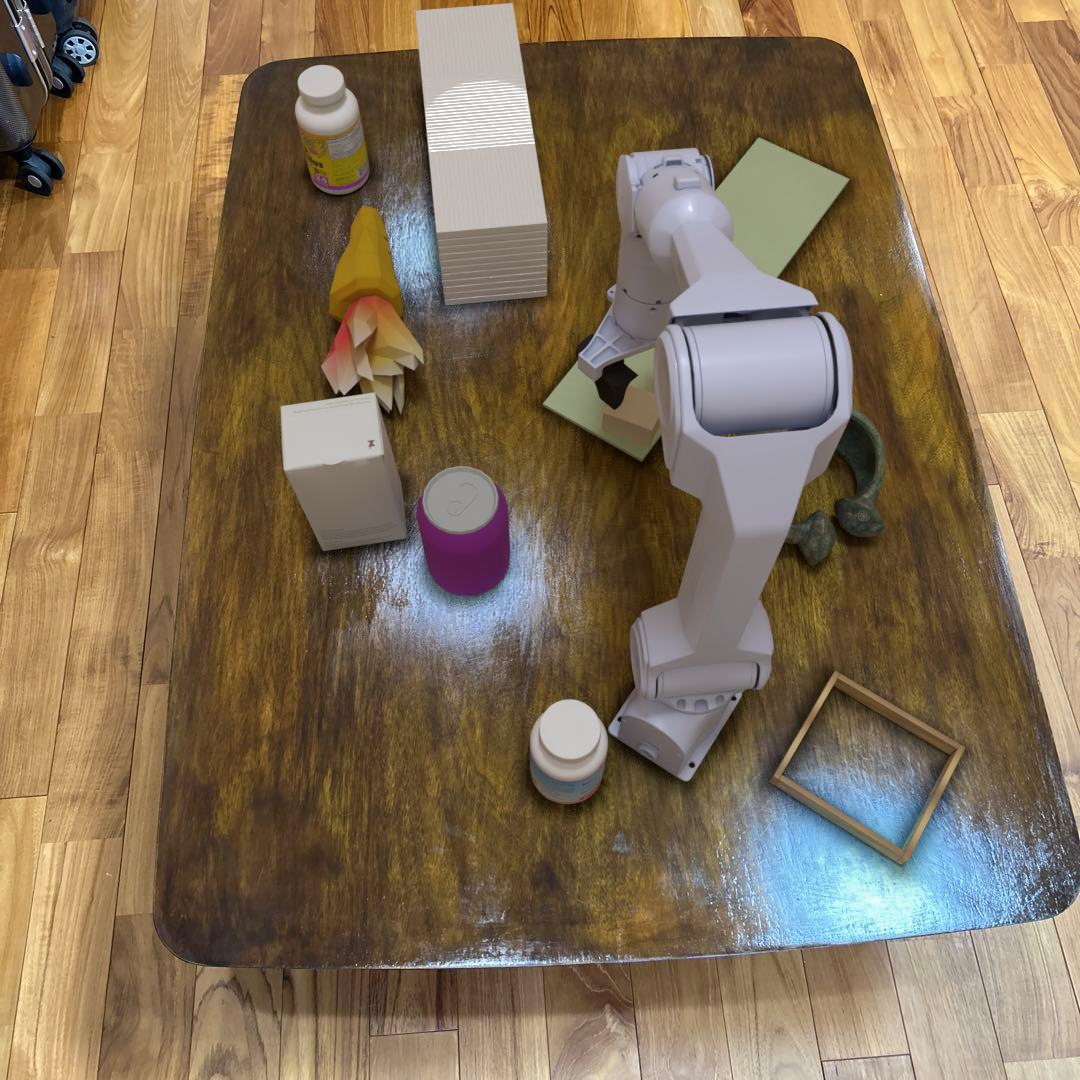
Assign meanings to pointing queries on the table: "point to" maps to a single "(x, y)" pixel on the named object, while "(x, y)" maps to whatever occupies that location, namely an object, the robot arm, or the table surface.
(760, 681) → the robot arm
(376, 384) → the torch
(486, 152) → the stack of papers
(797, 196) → the runner
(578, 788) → the pill bottle
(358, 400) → the cosmetic box
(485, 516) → the beverage can
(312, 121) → the supplement bottle
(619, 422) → the block
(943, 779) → the wooden frame
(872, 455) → the dark green rounded piece
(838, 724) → the table surface
